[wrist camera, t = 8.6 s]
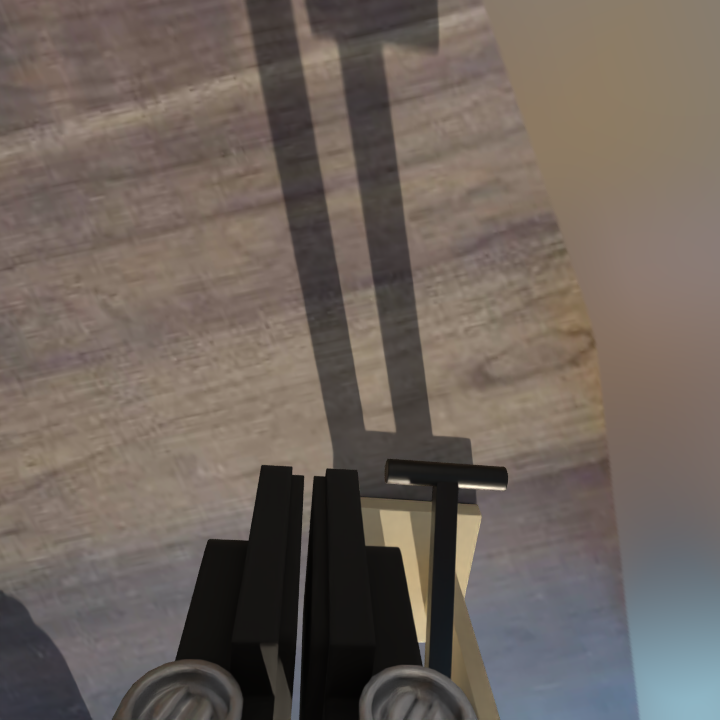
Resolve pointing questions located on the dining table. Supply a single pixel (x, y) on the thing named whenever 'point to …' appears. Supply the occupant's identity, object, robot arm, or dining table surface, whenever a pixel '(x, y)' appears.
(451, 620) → the lever
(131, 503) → the dining table surface
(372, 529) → the bracket
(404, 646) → the robot arm
